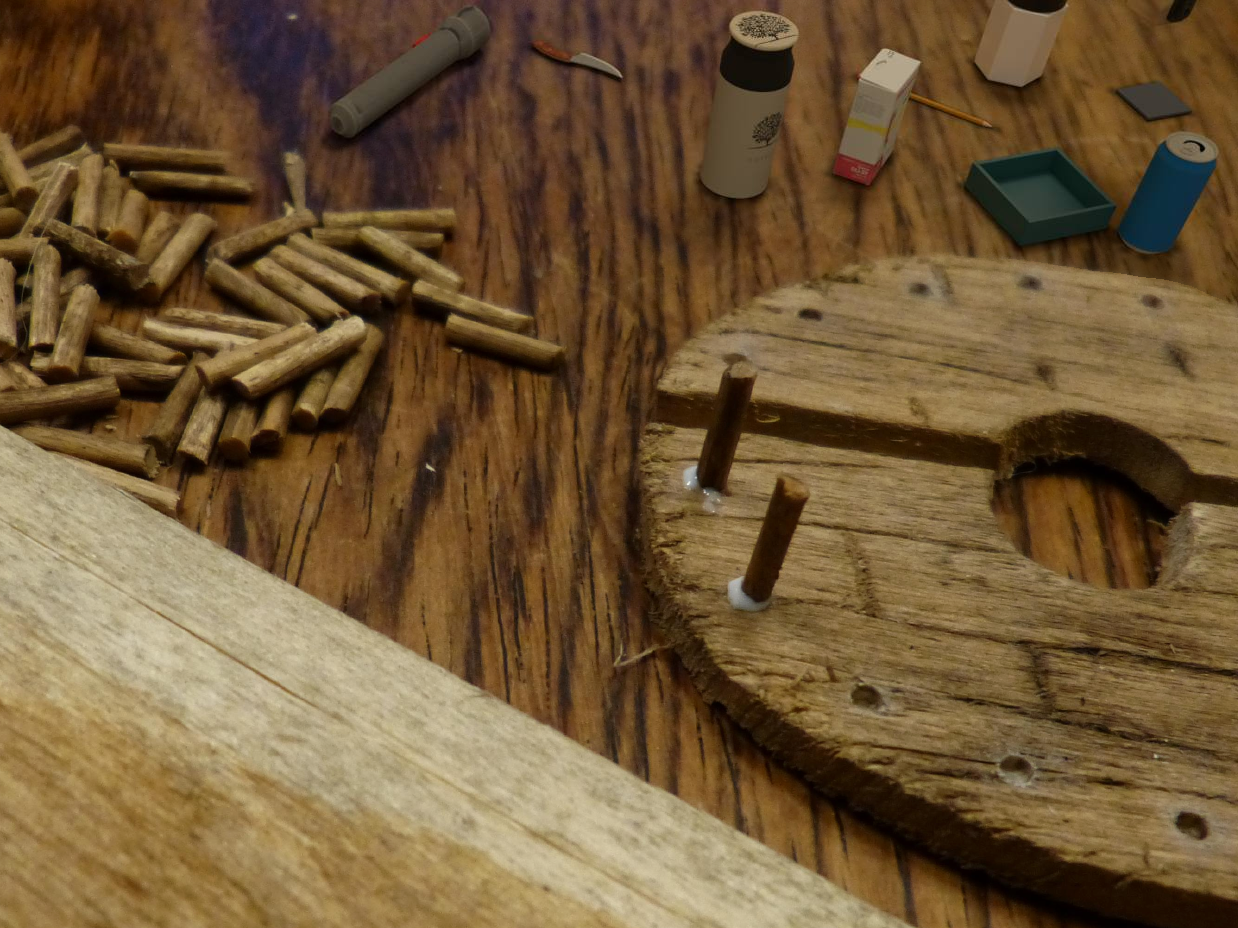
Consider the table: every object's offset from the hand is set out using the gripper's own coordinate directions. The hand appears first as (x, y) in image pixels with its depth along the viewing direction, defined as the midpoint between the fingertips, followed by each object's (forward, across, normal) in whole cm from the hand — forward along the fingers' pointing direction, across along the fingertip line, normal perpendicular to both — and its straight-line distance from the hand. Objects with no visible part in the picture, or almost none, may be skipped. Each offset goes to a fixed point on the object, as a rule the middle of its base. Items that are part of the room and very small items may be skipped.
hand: (1159, 7), depth 144 cm
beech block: (+1, 0, 0) cm, 1 cm away
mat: (+18, +7, -15) cm, 24 cm away
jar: (+18, +19, 0) cm, 26 cm away
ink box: (+18, +6, +30) cm, 36 cm away
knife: (+18, +36, +55) cm, 68 cm away
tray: (+18, -8, +14) cm, 24 cm away
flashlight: (+18, +36, +78) cm, 87 cm away
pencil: (+18, +15, +15) cm, 28 cm away
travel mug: (+18, +7, +47) cm, 51 cm away
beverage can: (+18, -18, +6) cm, 26 cm away
